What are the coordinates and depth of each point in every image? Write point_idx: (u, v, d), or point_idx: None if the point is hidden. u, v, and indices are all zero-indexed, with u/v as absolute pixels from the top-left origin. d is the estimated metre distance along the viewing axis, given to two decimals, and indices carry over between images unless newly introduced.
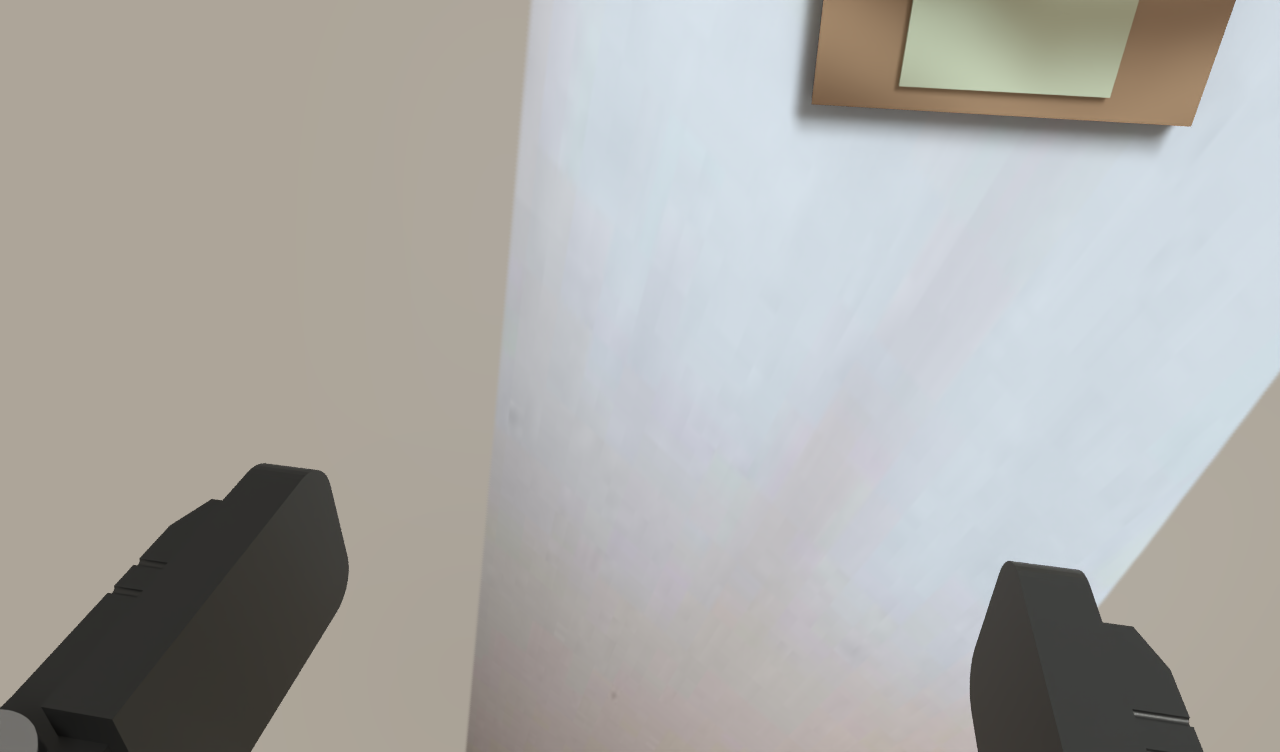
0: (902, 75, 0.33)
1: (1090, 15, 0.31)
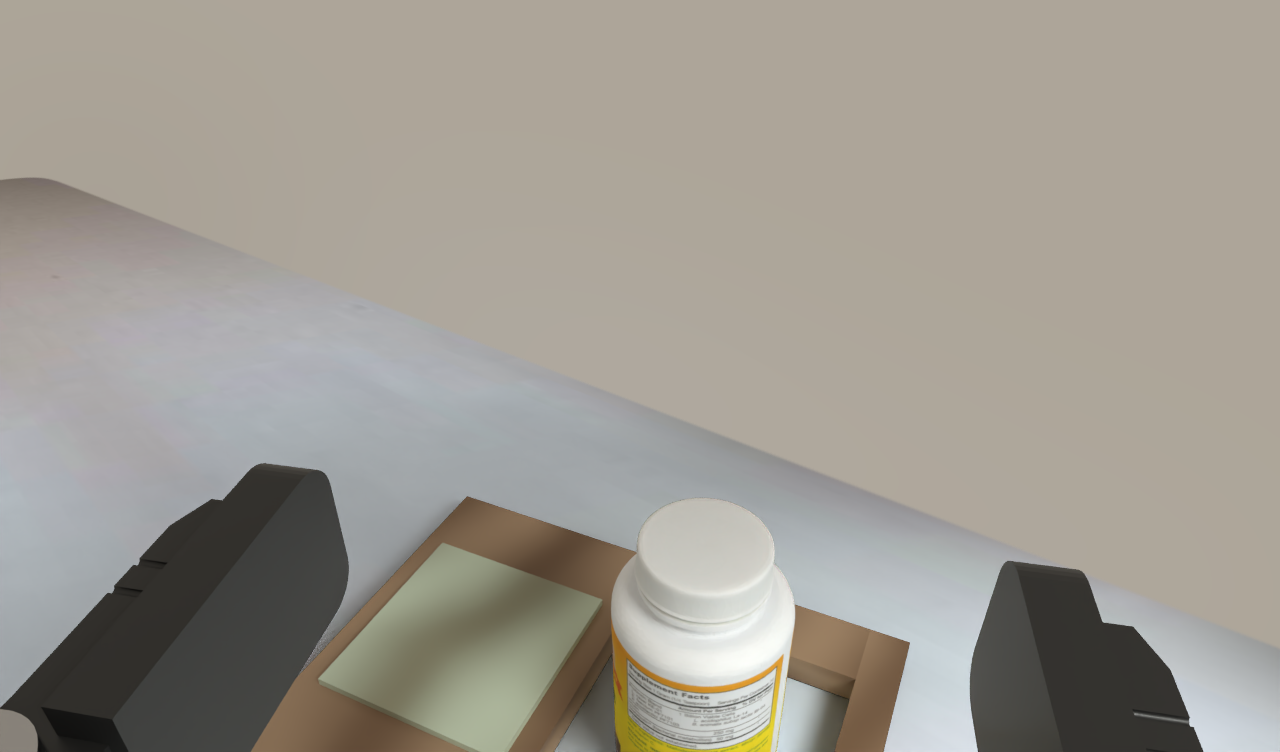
0: (449, 545, 0.37)
1: (407, 675, 0.31)
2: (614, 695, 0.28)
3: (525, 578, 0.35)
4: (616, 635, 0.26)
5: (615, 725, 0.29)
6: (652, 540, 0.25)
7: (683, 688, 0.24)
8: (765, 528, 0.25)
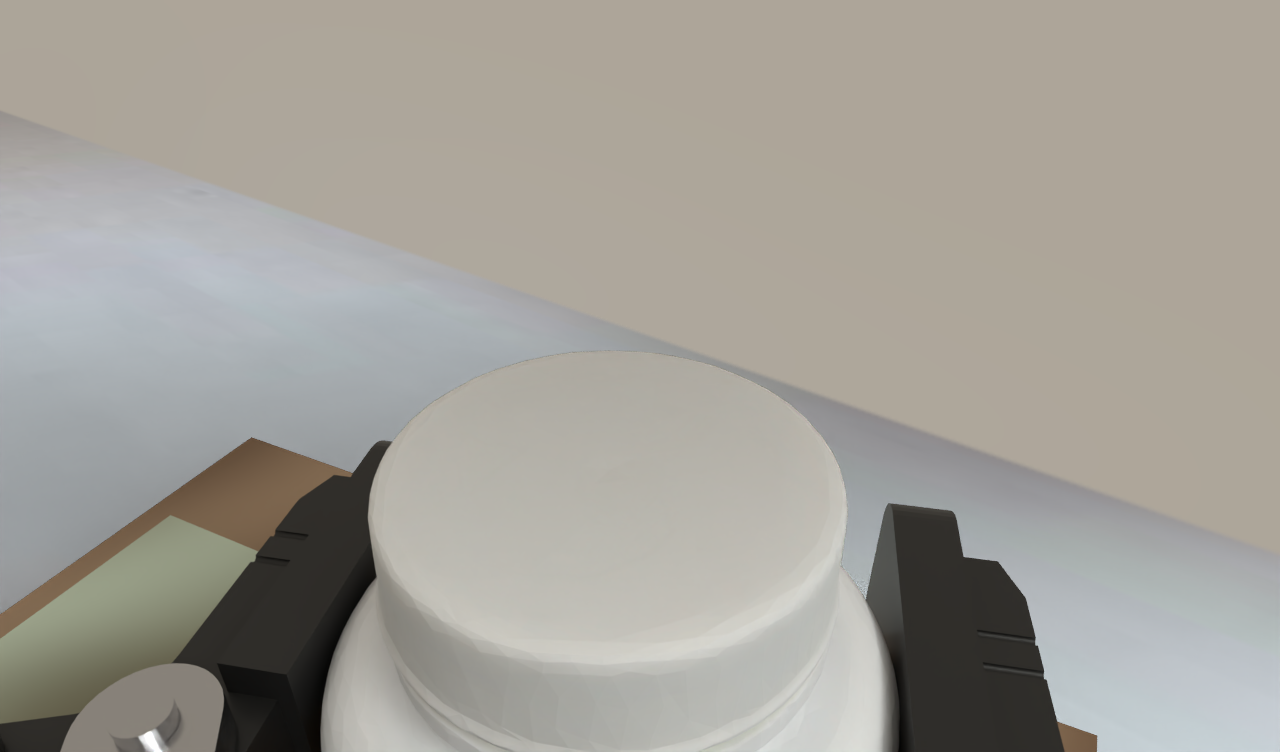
0: (181, 521, 0.19)
1: None
2: None
3: None
4: None
5: None
6: (428, 458, 0.07)
7: None
8: (812, 431, 0.08)
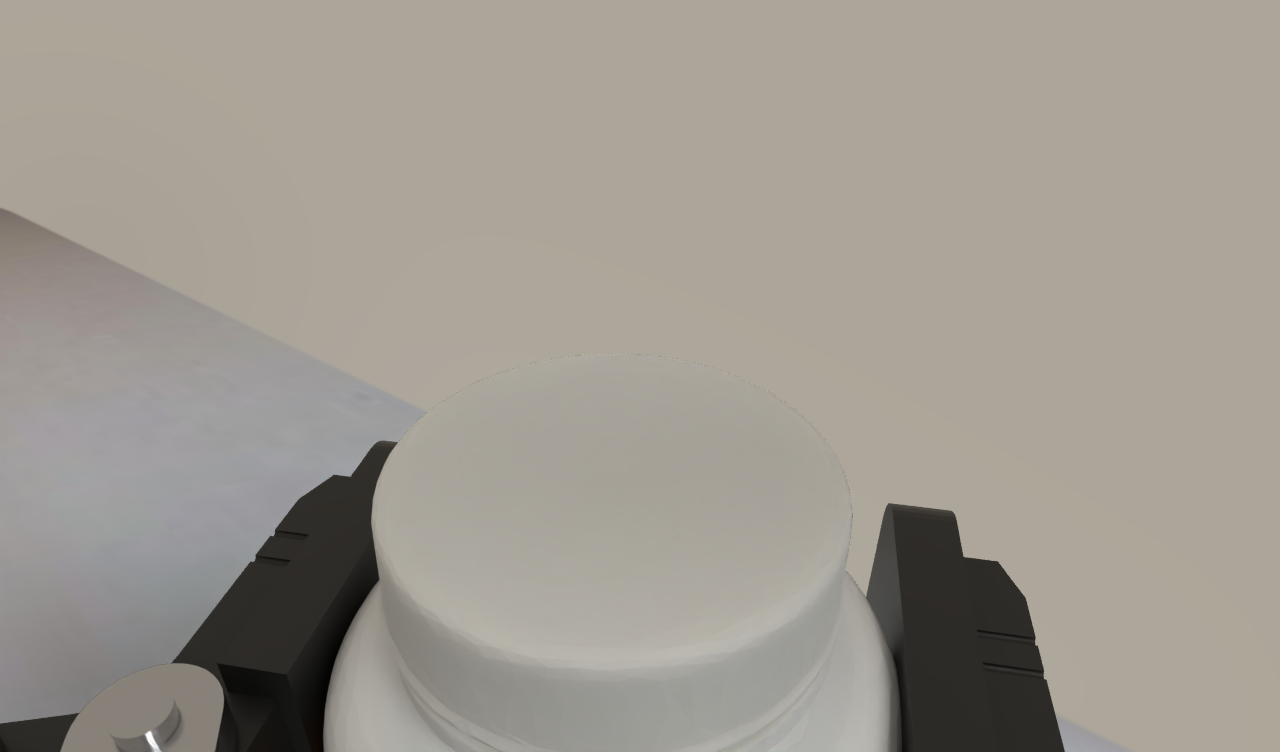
0: None
1: None
2: None
3: None
4: None
5: None
6: (431, 462, 0.07)
7: None
8: (816, 435, 0.08)
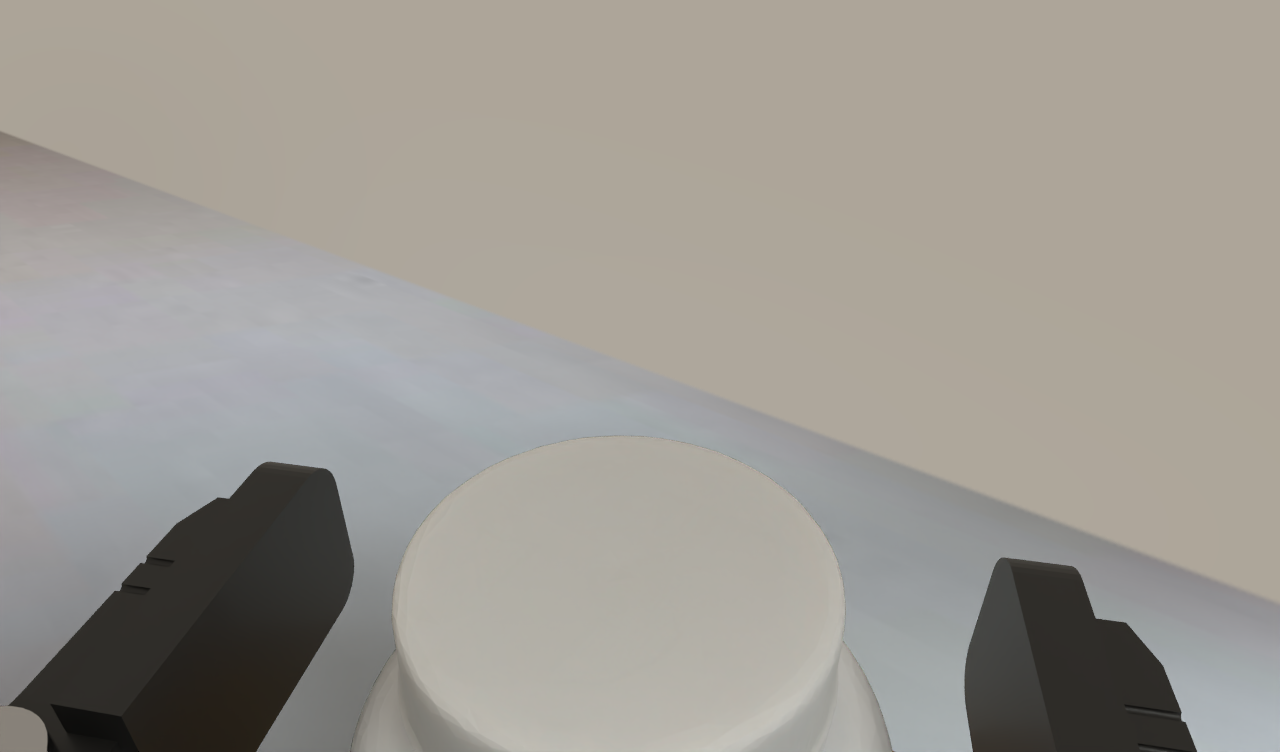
0: None
1: None
2: None
3: None
4: None
5: None
6: (447, 557, 0.08)
7: None
8: (812, 523, 0.08)
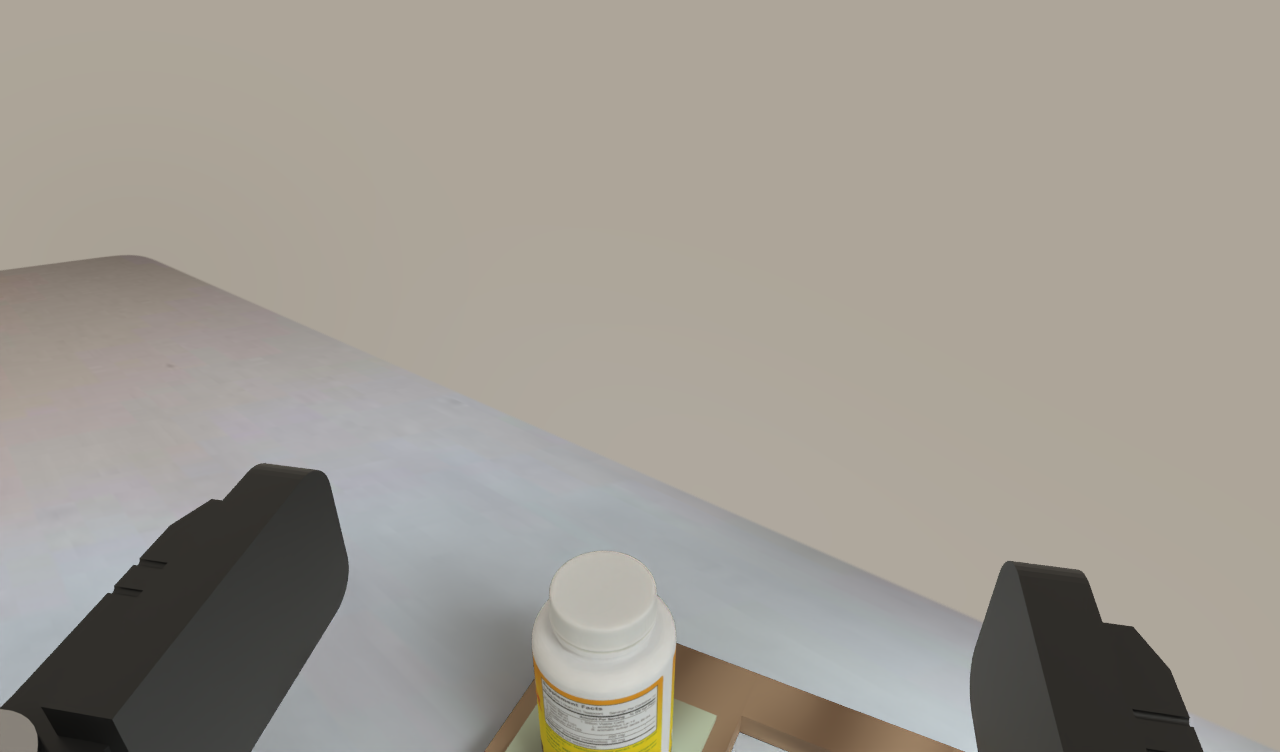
0: None
1: None
2: None
3: None
4: (534, 659, 0.33)
5: None
6: (561, 585, 0.32)
7: (581, 701, 0.31)
8: (651, 576, 0.32)
